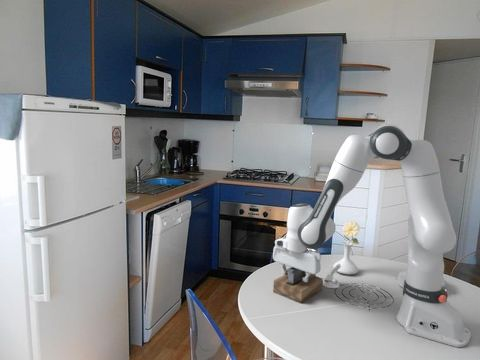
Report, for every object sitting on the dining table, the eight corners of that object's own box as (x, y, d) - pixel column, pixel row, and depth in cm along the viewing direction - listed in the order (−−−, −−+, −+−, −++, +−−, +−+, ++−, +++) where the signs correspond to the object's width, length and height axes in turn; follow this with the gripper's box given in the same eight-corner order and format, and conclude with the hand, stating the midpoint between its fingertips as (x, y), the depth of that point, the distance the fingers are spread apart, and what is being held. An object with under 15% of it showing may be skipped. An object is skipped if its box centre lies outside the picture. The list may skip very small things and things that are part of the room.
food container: (435, 302, 145) (437, 286, 144) (387, 283, 160) (389, 268, 159) (454, 289, 158) (457, 274, 157) (409, 273, 173) (411, 259, 172)
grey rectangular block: (301, 289, 149) (303, 265, 147) (290, 295, 143) (292, 271, 141) (296, 287, 150) (298, 263, 149) (285, 293, 144) (287, 269, 143)
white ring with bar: (350, 280, 149) (336, 269, 149) (331, 297, 154) (318, 286, 155) (352, 270, 155) (338, 260, 156) (334, 286, 161) (321, 276, 162)
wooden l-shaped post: (322, 290, 151) (326, 236, 147) (300, 303, 139) (305, 244, 135) (295, 280, 159) (298, 228, 156) (273, 292, 147) (276, 236, 144)
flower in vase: (327, 267, 175) (332, 216, 171) (348, 266, 178) (353, 215, 174) (343, 279, 162) (348, 224, 158) (365, 277, 166) (370, 223, 162)
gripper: (325, 249, 139) (322, 283, 141) (280, 236, 152) (278, 268, 155) (316, 253, 134) (313, 288, 137) (271, 239, 148) (269, 272, 150)
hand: (294, 277), depth 146 cm, fingers open, 8 cm apart
